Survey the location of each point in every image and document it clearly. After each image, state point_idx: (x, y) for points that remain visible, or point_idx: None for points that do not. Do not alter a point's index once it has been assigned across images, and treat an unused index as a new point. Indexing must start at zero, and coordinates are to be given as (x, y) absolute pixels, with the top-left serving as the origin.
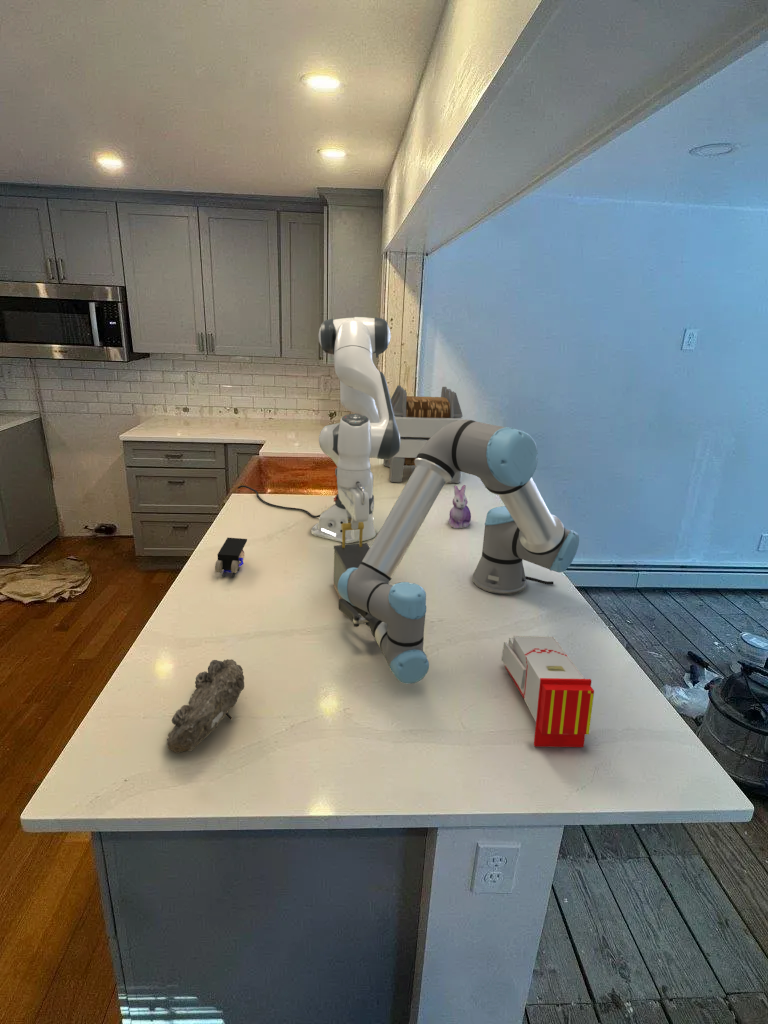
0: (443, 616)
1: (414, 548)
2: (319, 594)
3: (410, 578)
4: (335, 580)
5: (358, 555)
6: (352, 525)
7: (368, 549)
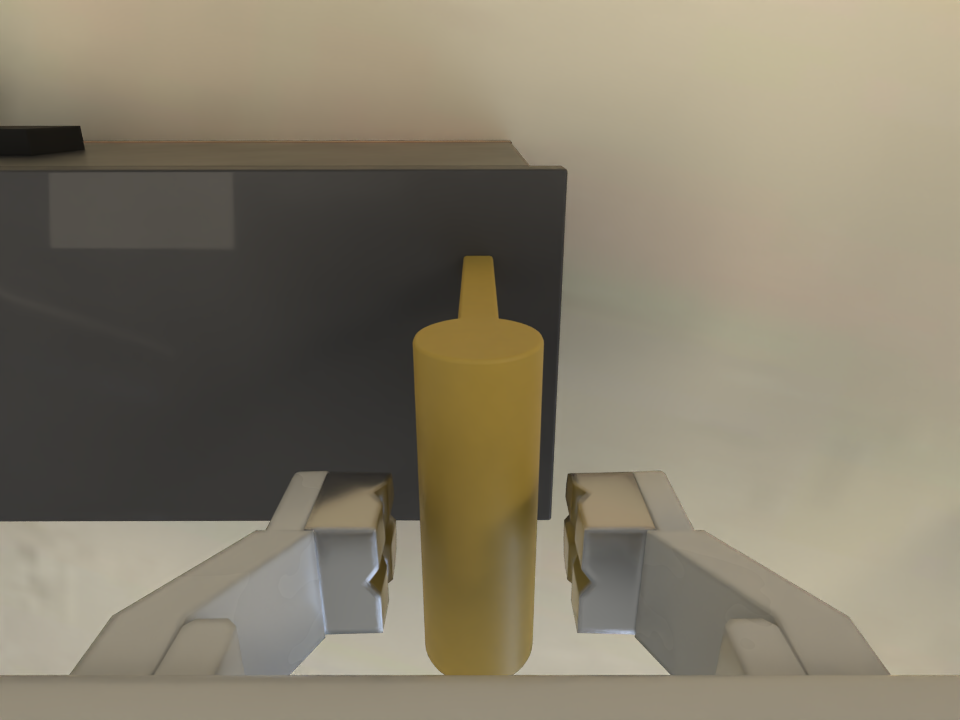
0: (80, 612)
1: None
2: (404, 4)
3: None
4: (451, 144)
5: (250, 375)
6: (283, 513)
7: None
